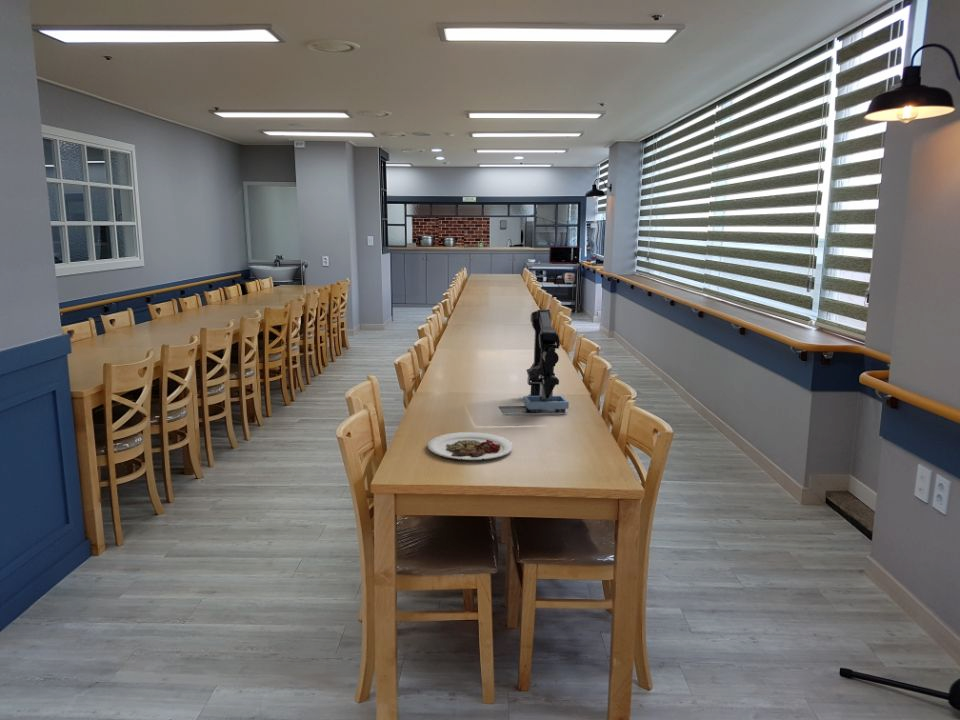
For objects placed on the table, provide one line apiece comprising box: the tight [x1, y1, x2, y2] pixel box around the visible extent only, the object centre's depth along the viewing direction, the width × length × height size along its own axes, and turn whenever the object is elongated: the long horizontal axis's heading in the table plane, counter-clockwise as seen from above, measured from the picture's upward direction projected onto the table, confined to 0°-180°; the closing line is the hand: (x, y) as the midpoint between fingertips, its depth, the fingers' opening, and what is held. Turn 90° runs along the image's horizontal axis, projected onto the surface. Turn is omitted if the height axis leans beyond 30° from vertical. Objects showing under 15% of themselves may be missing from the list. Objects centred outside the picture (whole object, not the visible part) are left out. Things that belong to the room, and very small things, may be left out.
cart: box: [522, 395, 570, 413], centre depth 293 cm, size 11×17×5 cm, turn 98°
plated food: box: [427, 431, 514, 461], centre depth 242 cm, size 30×30×3 cm
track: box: [498, 404, 569, 416], centre depth 292 cm, size 13×27×1 cm, turn 98°
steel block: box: [539, 383, 554, 402], centre depth 292 cm, size 4×4×7 cm
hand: (545, 396), depth 292 cm, fingers closed on steel block, 4 cm apart
